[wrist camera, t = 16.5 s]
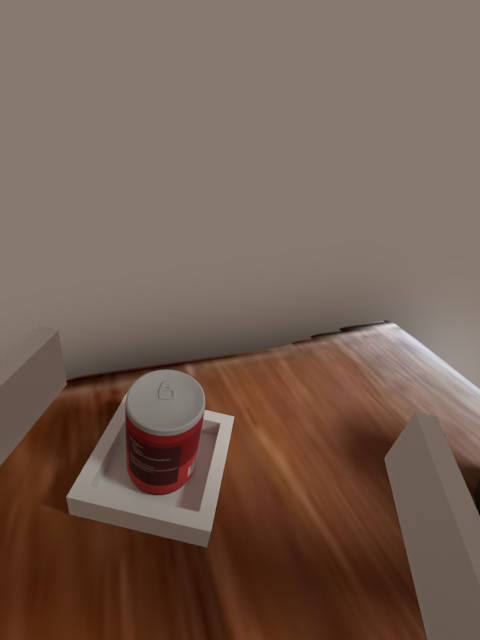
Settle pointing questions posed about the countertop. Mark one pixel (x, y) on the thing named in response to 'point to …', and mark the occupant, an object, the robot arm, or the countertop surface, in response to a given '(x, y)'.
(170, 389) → the canned food
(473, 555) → the robot arm
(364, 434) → the countertop surface
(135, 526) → the tray
